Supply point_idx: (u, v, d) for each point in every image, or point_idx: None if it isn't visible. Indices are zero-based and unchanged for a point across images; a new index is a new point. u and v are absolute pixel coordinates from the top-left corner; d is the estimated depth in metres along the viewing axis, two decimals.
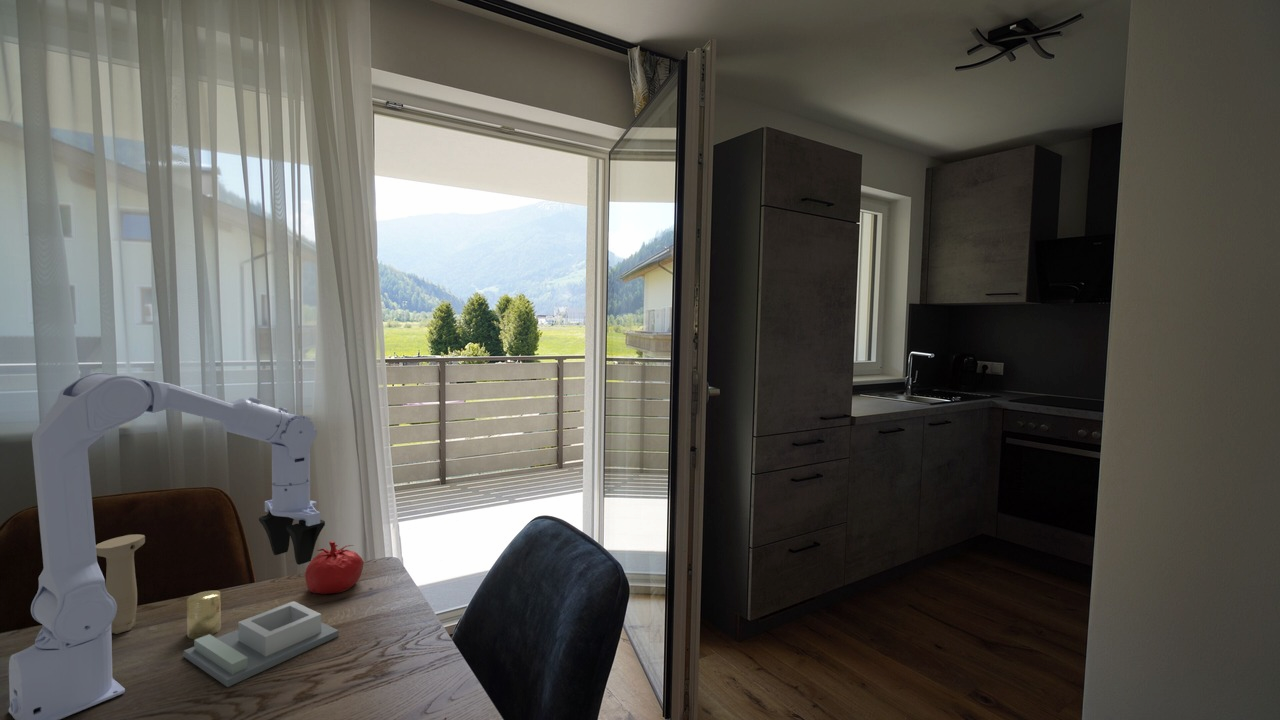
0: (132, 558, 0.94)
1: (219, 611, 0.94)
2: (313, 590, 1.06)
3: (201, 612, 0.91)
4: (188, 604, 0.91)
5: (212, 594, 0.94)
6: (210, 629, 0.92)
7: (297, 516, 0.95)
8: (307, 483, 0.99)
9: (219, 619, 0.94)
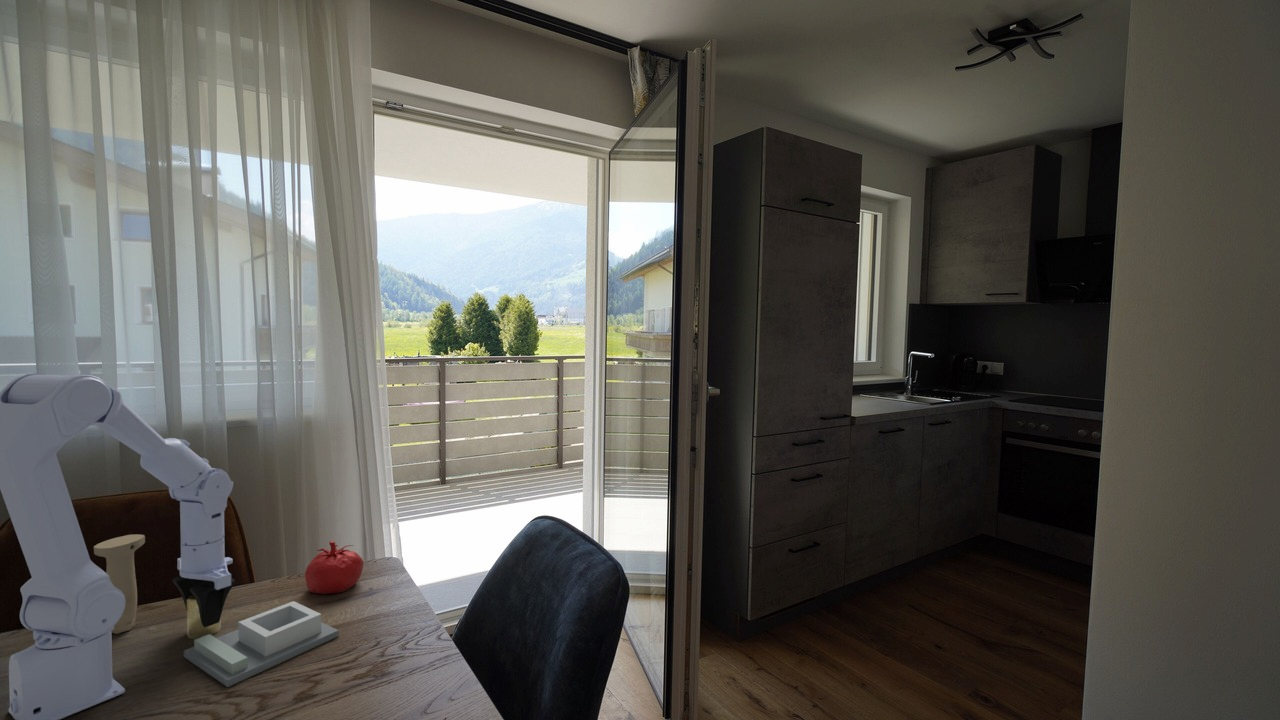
0: (132, 558, 0.94)
1: None
2: (313, 590, 1.06)
3: None
4: (188, 604, 0.91)
5: None
6: (210, 629, 0.92)
7: (206, 578, 0.89)
8: (220, 541, 0.93)
9: None
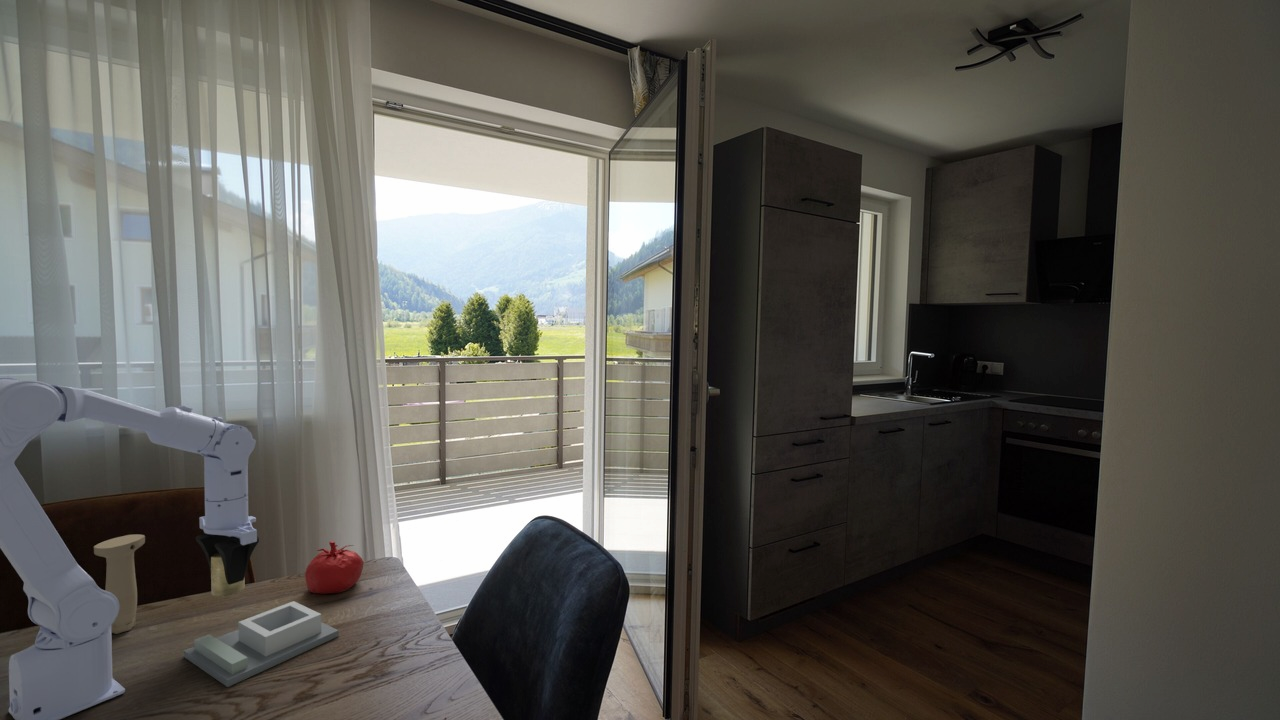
0: (132, 558, 0.94)
1: None
2: (313, 590, 1.06)
3: None
4: (212, 561, 0.90)
5: None
6: (234, 587, 0.91)
7: (231, 534, 0.88)
8: (244, 498, 0.92)
9: None
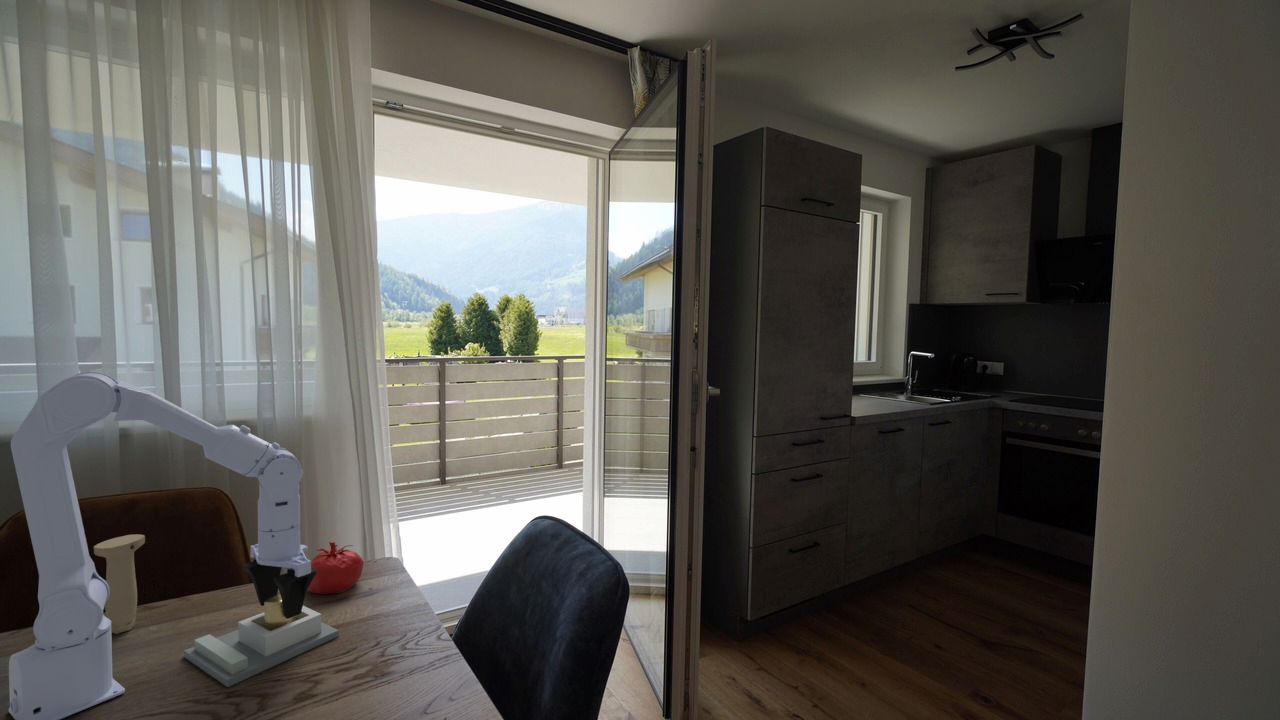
0: (132, 558, 0.94)
1: (296, 615, 0.91)
2: (313, 590, 1.06)
3: (279, 616, 0.88)
4: (266, 607, 0.88)
5: None
6: None
7: (285, 566, 0.86)
8: (297, 527, 0.90)
9: None
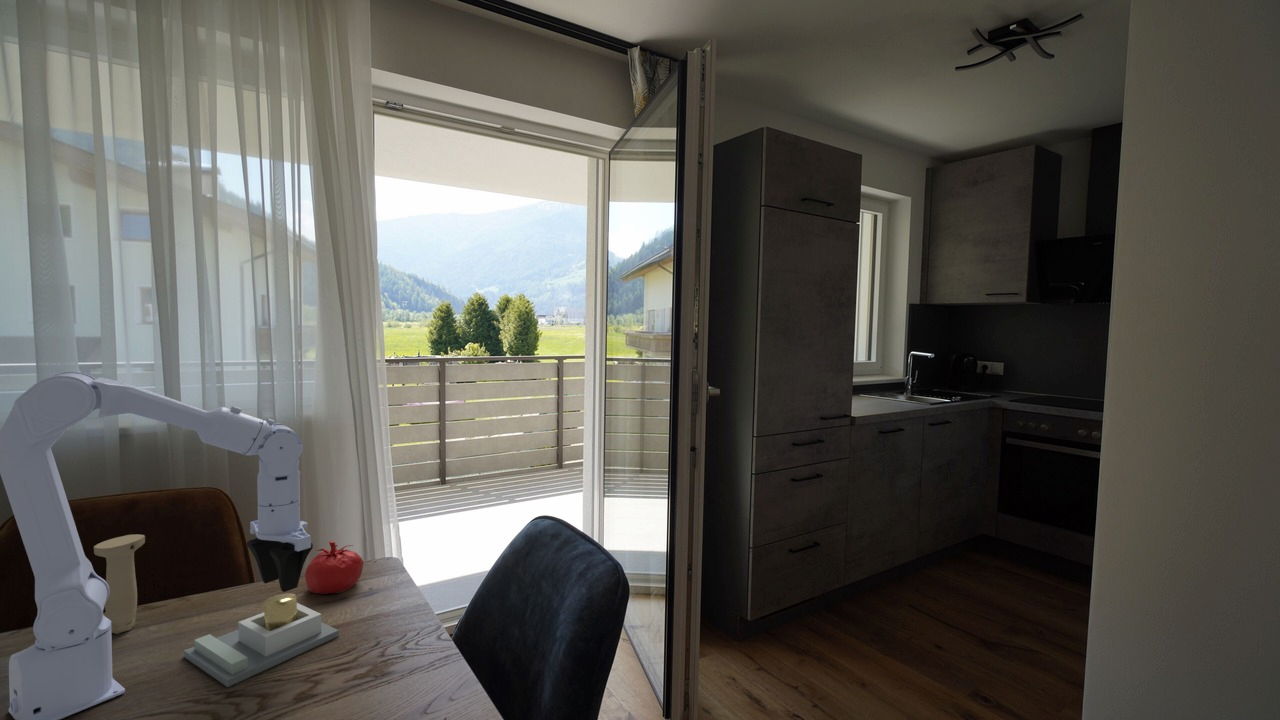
0: (132, 558, 0.94)
1: (296, 615, 0.91)
2: (313, 590, 1.06)
3: (279, 616, 0.88)
4: (266, 607, 0.88)
5: (288, 597, 0.91)
6: None
7: (285, 540, 0.86)
8: (297, 503, 0.90)
9: None
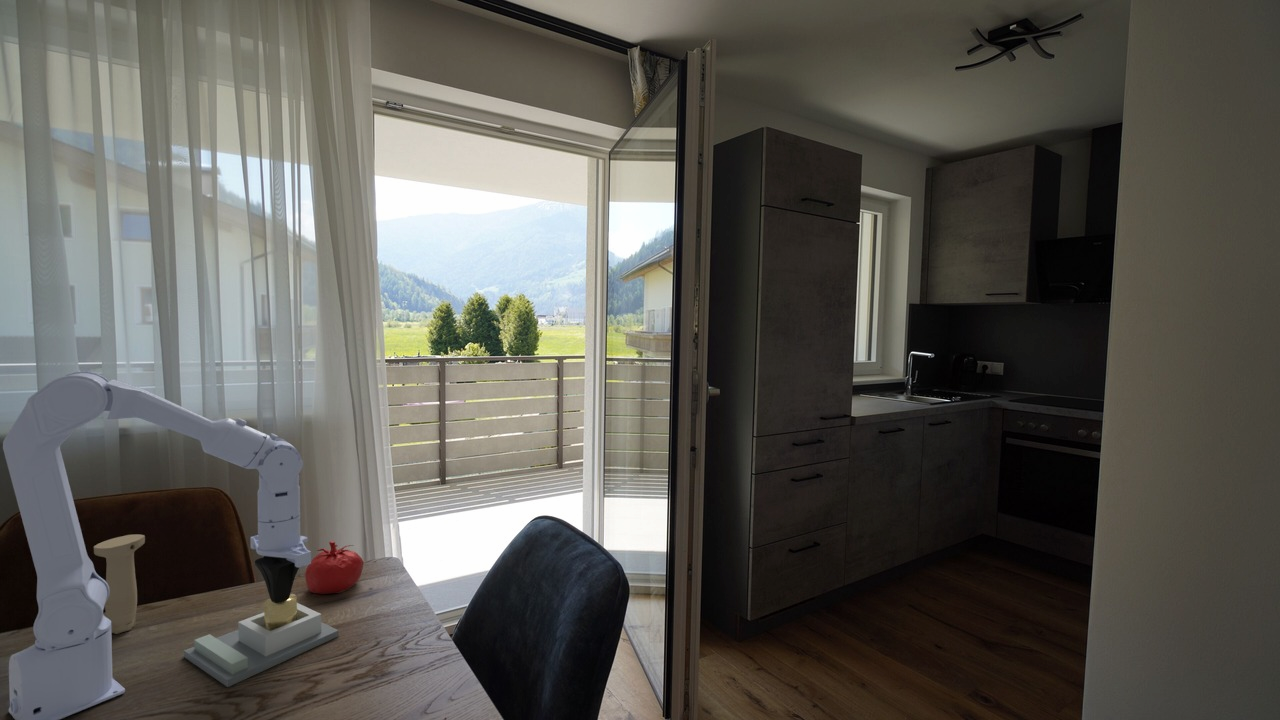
0: (132, 558, 0.94)
1: (296, 615, 0.91)
2: (313, 590, 1.06)
3: (279, 616, 0.88)
4: (266, 608, 0.88)
5: None
6: None
7: (285, 556, 0.86)
8: (297, 518, 0.90)
9: None
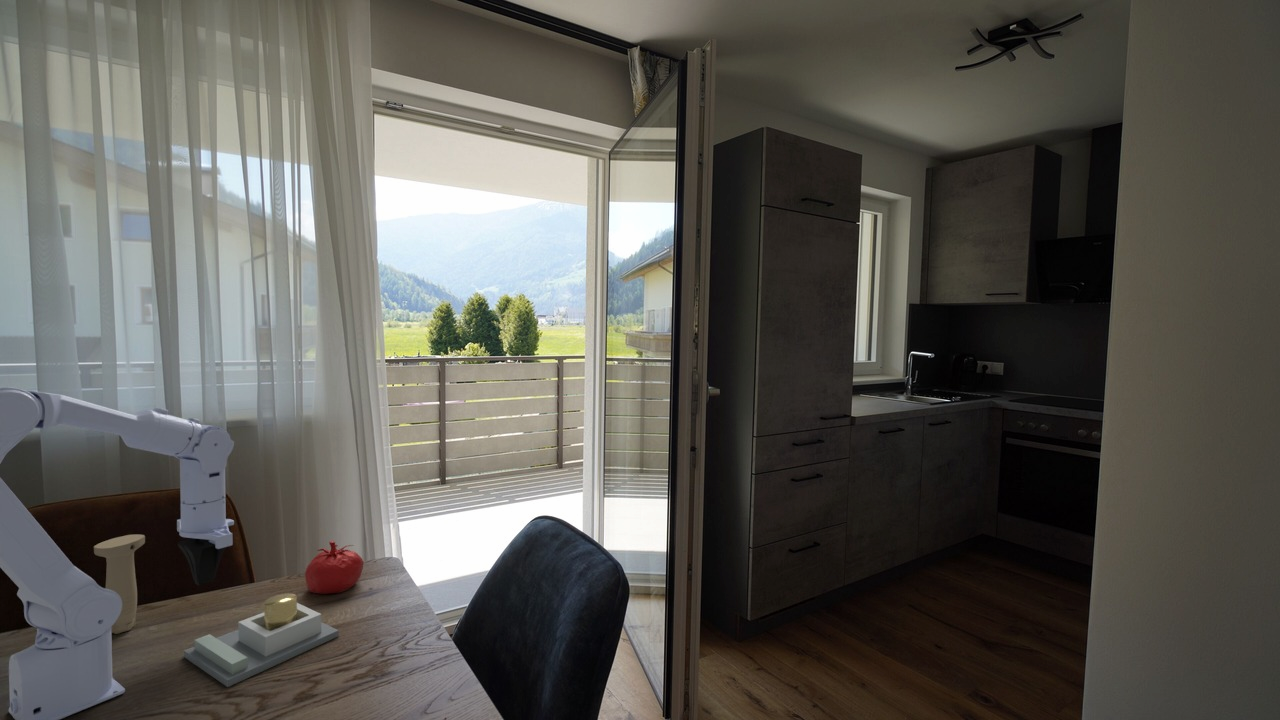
0: (132, 558, 0.94)
1: (296, 615, 0.91)
2: (313, 590, 1.06)
3: (279, 616, 0.88)
4: (266, 607, 0.88)
5: (288, 597, 0.91)
6: None
7: (206, 538, 0.87)
8: (221, 501, 0.90)
9: None
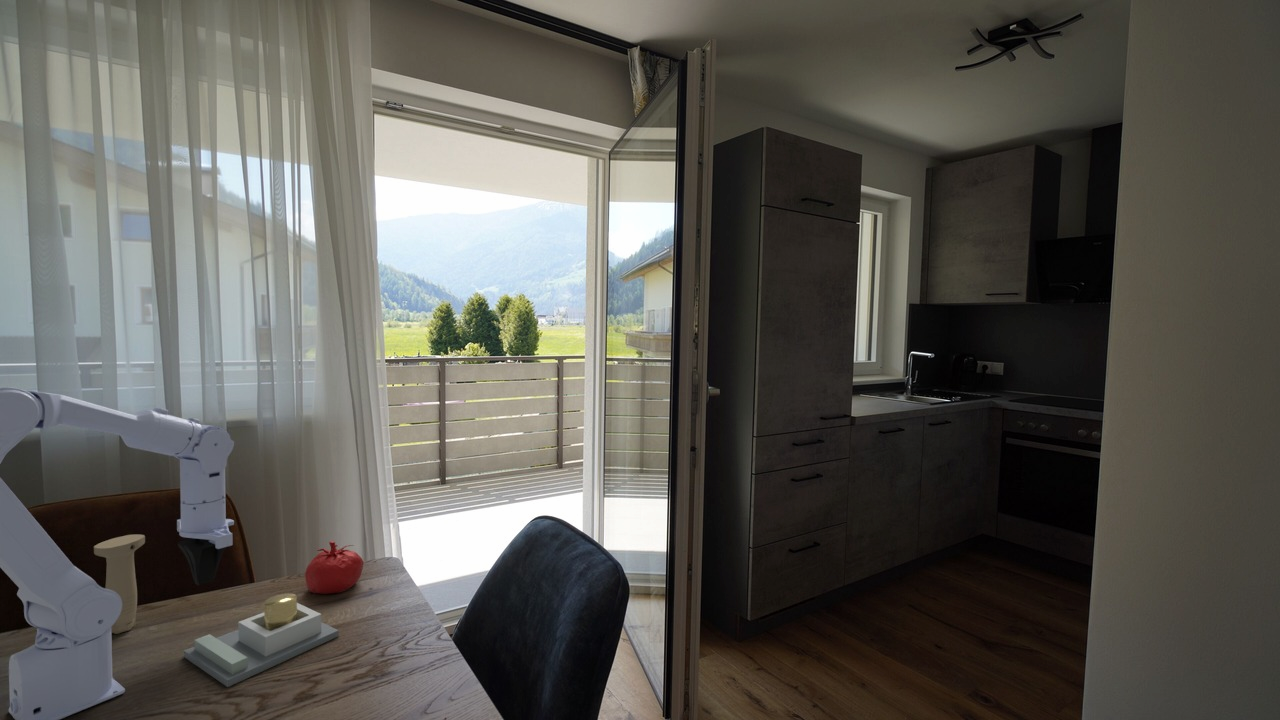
0: (132, 558, 0.94)
1: (296, 615, 0.91)
2: (313, 590, 1.06)
3: (279, 616, 0.88)
4: (266, 607, 0.88)
5: (288, 597, 0.91)
6: None
7: (206, 538, 0.87)
8: (221, 501, 0.90)
9: None
